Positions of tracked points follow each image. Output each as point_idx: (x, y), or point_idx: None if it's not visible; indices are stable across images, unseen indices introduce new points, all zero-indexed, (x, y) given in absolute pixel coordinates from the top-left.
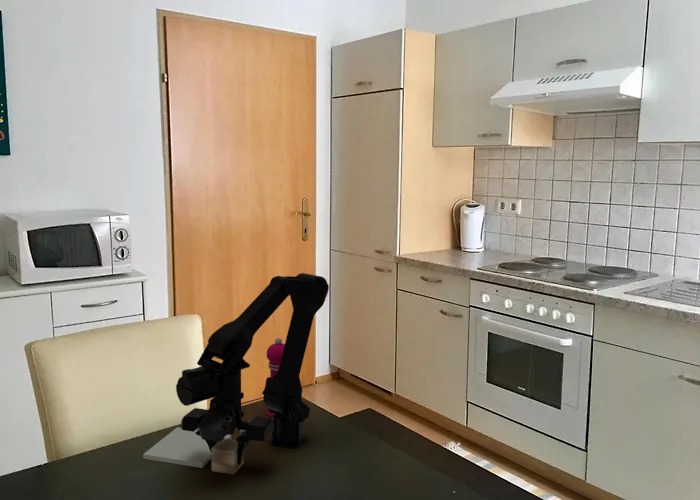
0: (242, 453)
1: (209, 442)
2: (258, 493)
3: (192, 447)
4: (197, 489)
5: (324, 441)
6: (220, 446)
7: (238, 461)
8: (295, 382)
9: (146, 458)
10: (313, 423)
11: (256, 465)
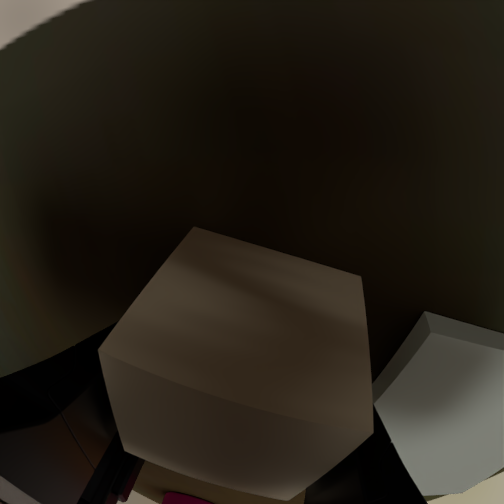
0: (84, 344)
1: (388, 486)
2: (22, 42)
3: (450, 440)
4: (422, 18)
5: None
6: (276, 448)
7: None
8: None
9: None
10: None
11: (113, 311)
